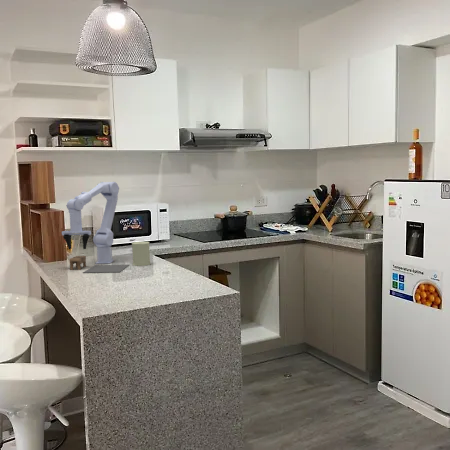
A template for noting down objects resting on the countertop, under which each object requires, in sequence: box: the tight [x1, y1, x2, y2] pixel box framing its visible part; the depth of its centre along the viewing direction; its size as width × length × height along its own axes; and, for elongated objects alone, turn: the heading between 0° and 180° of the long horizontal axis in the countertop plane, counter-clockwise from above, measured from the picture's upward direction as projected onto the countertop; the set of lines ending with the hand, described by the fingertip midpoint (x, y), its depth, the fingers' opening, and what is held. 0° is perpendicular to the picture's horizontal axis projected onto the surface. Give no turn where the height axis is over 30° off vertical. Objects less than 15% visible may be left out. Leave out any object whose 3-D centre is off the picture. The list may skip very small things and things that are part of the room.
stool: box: [69, 255, 87, 271], centre depth 261 cm, size 10×5×6 cm, turn 177°
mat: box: [82, 264, 130, 274], centre depth 257 cm, size 20×18×1 cm
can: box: [131, 241, 151, 267], centre depth 268 cm, size 9×9×12 cm
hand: (77, 249), depth 261 cm, fingers open, 7 cm apart
